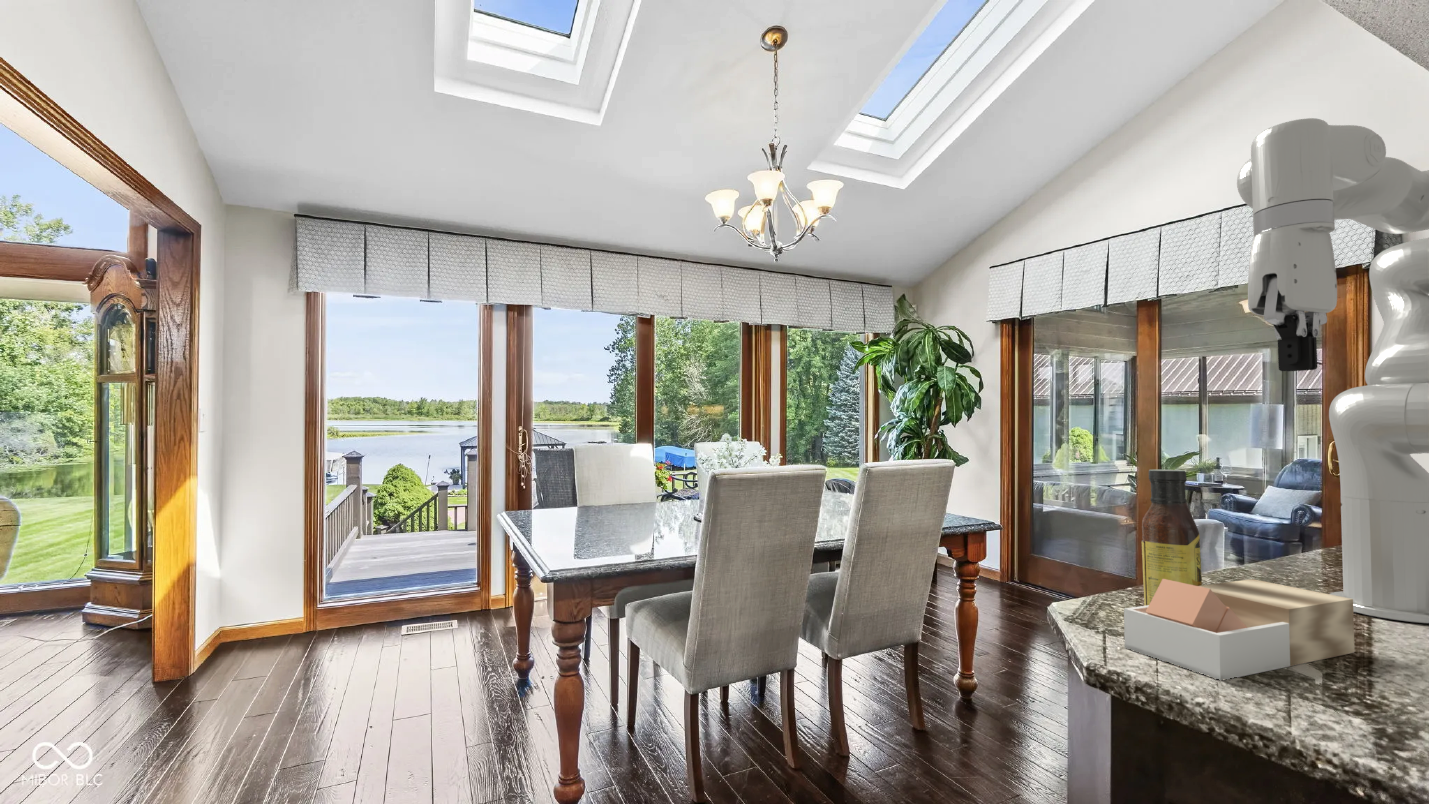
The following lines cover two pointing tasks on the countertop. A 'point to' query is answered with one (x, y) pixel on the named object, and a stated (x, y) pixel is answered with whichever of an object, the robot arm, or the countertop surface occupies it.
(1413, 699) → the countertop surface
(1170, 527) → the sauce bottle
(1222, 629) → the block
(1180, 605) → the block
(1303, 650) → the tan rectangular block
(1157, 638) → the box
